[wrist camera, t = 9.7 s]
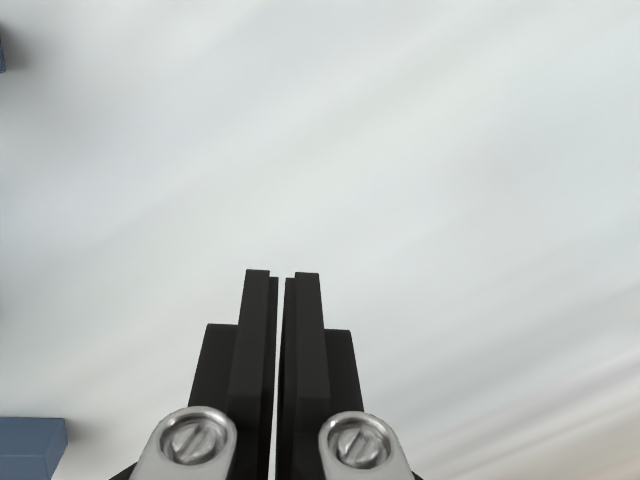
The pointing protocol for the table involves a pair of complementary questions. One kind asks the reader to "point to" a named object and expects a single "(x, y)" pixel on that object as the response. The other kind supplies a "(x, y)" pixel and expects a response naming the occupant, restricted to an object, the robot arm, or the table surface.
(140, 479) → the robot arm
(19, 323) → the table surface
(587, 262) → the table surface
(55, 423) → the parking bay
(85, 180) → the table surface
